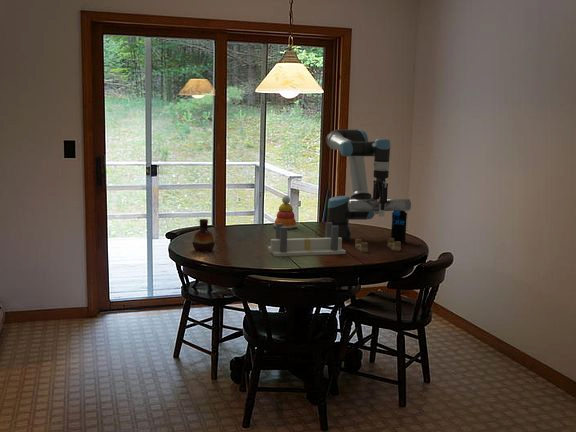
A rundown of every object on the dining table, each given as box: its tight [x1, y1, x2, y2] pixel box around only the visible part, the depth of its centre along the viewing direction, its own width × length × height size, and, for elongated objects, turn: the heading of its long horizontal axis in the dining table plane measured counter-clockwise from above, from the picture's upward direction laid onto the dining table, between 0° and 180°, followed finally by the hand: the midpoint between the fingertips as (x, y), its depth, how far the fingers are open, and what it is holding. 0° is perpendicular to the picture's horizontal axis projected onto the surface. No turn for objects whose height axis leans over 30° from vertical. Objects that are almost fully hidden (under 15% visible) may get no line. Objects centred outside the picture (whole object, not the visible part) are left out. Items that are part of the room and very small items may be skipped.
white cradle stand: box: [267, 221, 347, 257], centre depth 308 cm, size 16×36×14 cm, turn 104°
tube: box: [348, 198, 412, 212], centre depth 315 cm, size 32×6×6 cm, turn 104°
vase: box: [191, 218, 216, 253], centre depth 305 cm, size 11×11×15 cm
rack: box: [354, 237, 402, 253], centre depth 318 cm, size 10×21×4 cm, turn 104°
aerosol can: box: [390, 211, 408, 244], centre depth 335 cm, size 8×8×20 cm
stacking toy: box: [273, 195, 298, 230], centre depth 371 cm, size 14×14×20 cm
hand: (378, 215), depth 316 cm, fingers closed on tube, 6 cm apart
